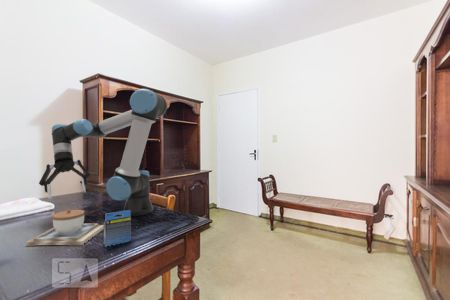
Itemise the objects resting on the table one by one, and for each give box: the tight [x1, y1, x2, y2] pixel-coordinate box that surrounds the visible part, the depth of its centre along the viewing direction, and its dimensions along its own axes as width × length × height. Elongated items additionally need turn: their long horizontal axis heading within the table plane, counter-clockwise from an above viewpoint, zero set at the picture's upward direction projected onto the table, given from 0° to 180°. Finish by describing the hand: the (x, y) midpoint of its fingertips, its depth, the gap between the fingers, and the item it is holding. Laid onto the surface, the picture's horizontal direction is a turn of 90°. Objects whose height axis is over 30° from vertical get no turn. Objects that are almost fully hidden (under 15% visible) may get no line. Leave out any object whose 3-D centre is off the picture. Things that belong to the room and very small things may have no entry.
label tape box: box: [103, 210, 132, 248], centre depth 86 cm, size 9×4×12 cm, turn 126°
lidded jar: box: [51, 208, 85, 235], centre depth 92 cm, size 11×11×9 cm
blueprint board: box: [25, 222, 104, 247], centre depth 92 cm, size 20×17×2 cm
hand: (67, 195), depth 107 cm, fingers open, 13 cm apart
